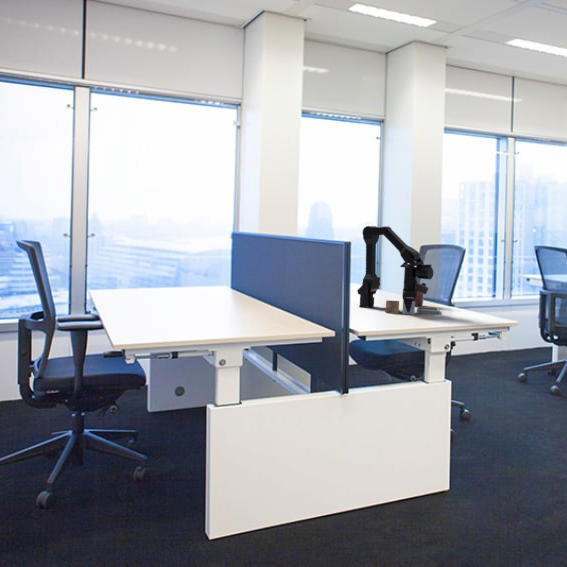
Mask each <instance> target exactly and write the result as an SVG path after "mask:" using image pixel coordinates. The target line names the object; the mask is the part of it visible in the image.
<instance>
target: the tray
mask: <svg viewBox="0 0 567 567" xmlns="http://www.w3.org/2000/svg"><path fill="white" fill-rule="evenodd" d="M416 313H417V314H428V315H429V314H431V315H440V308H439V307H430V306H429V307H428V306H426V307H425V306H421V307H416Z"/></svg>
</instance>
